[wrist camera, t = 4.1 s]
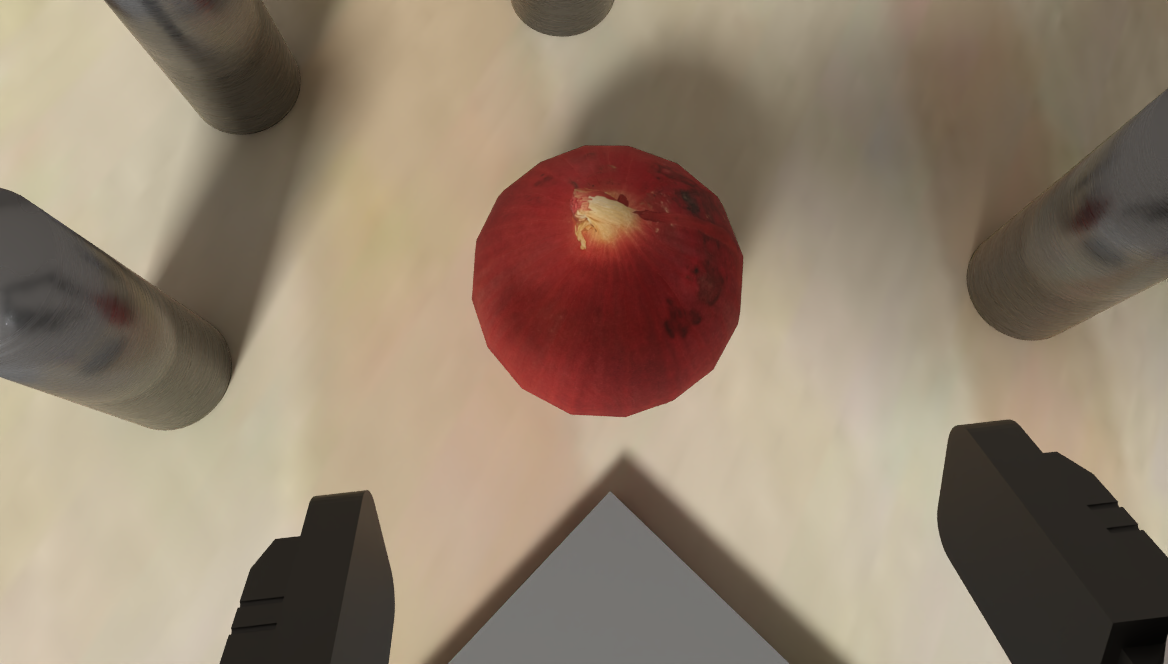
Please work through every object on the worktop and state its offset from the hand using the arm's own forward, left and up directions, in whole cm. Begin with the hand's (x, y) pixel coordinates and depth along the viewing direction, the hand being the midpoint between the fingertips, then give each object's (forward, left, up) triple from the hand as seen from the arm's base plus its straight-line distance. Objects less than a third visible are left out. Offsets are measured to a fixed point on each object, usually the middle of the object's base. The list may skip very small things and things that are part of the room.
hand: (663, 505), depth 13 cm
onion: (-3, -4, -10) cm, 11 cm away
